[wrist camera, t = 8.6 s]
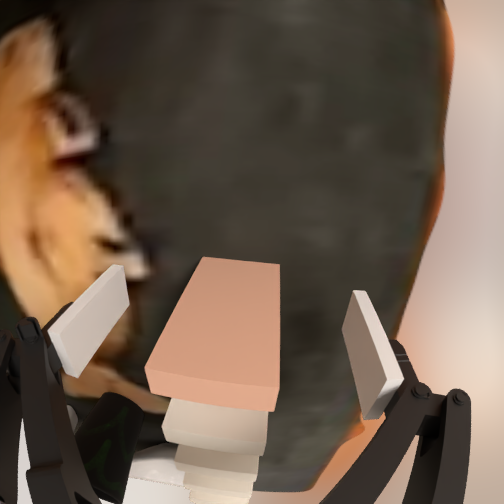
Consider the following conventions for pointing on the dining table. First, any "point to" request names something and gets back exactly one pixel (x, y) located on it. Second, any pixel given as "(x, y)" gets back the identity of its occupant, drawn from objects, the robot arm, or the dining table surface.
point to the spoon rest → (150, 461)
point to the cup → (110, 444)
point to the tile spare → (222, 338)
